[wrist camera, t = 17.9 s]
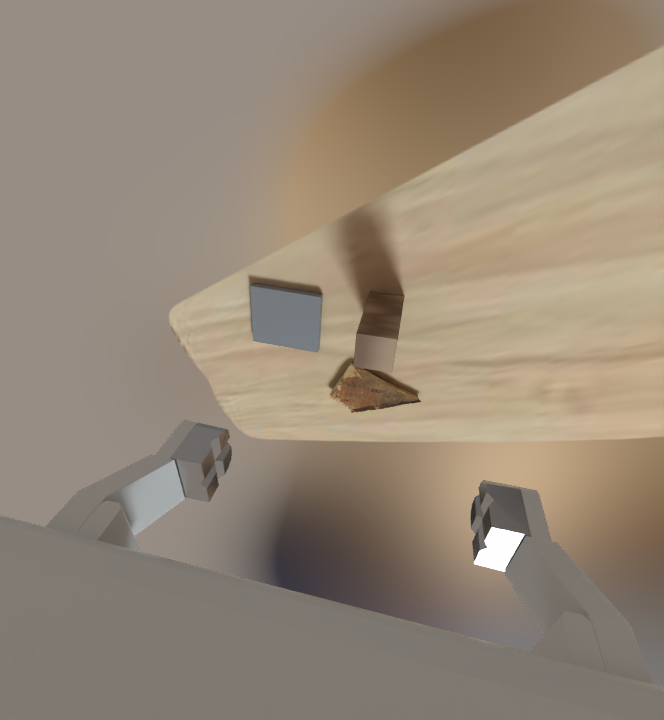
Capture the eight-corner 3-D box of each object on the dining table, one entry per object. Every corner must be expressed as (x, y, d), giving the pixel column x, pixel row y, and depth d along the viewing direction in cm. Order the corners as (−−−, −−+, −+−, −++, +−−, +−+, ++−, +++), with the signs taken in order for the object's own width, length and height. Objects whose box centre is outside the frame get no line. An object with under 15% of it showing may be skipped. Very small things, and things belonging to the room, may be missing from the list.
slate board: (320, 297, 47) (250, 285, 48) (317, 352, 51) (253, 340, 52) (323, 292, 48) (254, 281, 49) (320, 346, 52) (257, 335, 54)
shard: (421, 394, 53) (421, 403, 52) (392, 427, 58) (391, 436, 56) (352, 357, 52) (350, 364, 51) (328, 393, 57) (325, 401, 55)
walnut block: (404, 295, 45) (397, 339, 37) (399, 325, 48) (392, 373, 39) (370, 291, 46) (356, 333, 38) (367, 321, 48) (353, 366, 40)
